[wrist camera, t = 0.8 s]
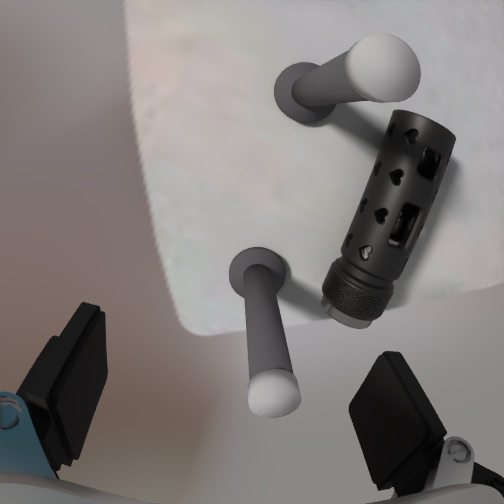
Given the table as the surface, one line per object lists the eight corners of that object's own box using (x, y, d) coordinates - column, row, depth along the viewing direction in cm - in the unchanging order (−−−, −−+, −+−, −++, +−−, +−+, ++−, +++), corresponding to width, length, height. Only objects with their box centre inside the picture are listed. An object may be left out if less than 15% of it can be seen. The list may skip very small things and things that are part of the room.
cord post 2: (340, 74, 36) (450, 41, 14) (326, 129, 39) (427, 149, 17) (282, 56, 35) (340, -13, 13) (267, 113, 38) (310, 105, 16)
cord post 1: (290, 253, 46) (336, 374, 24) (276, 300, 49) (303, 430, 27) (235, 242, 45) (238, 363, 23) (224, 290, 48) (219, 424, 26)
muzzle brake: (429, 135, 40) (472, 144, 30) (360, 298, 50) (384, 336, 41) (377, 108, 38) (414, 108, 29) (308, 285, 49) (324, 325, 39)
